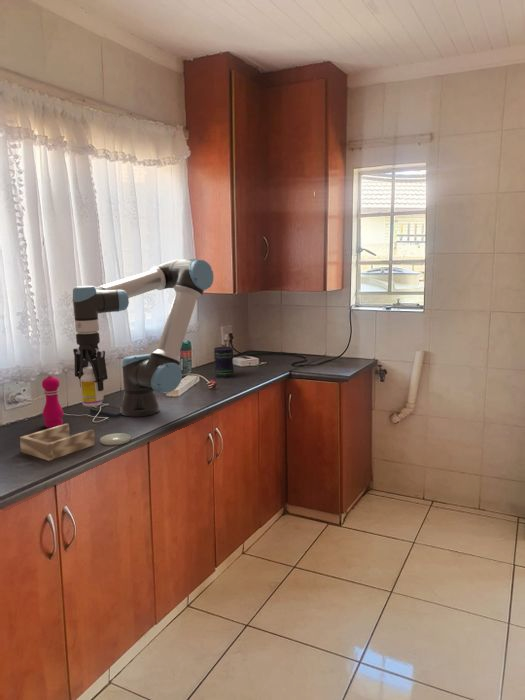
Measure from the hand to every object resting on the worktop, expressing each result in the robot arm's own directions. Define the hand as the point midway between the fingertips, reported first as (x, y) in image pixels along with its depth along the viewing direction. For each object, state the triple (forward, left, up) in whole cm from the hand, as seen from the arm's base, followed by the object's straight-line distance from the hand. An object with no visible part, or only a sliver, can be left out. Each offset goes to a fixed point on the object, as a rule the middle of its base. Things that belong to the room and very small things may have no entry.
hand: (92, 398), depth 191 cm
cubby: (+15, 0, -13) cm, 20 cm away
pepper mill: (0, -24, -14) cm, 27 cm away
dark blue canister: (-101, -22, -14) cm, 105 cm away
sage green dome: (0, +10, -13) cm, 17 cm away
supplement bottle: (0, 0, -2) cm, 2 cm away
